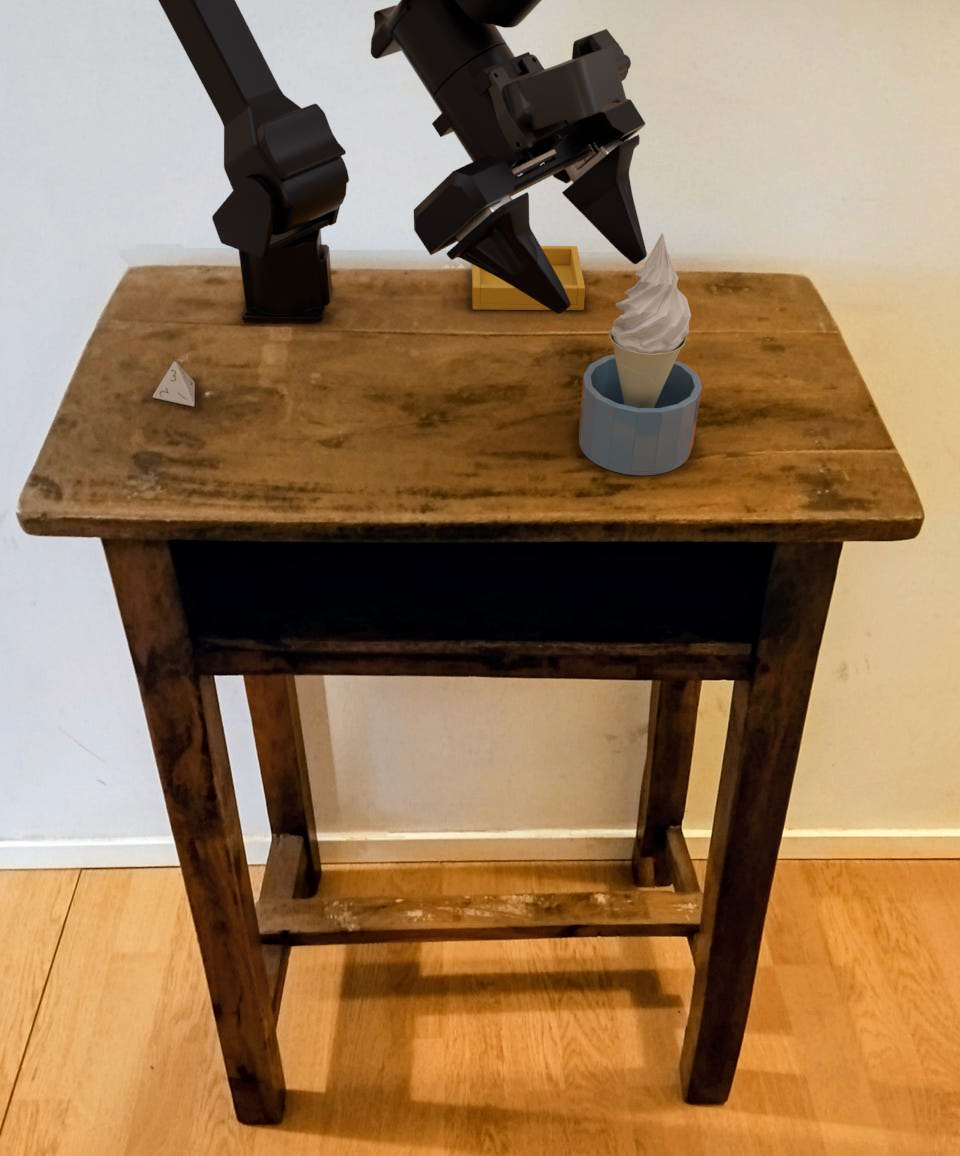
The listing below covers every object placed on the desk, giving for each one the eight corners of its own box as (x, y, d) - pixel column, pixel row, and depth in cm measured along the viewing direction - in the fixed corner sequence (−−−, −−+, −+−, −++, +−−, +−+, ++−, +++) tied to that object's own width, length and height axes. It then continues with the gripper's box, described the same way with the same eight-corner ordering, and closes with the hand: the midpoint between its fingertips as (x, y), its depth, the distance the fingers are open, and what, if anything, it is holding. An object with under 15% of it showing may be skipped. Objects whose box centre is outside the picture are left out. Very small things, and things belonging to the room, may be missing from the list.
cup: (583, 475, 77) (589, 411, 74) (574, 413, 83) (579, 351, 80) (699, 475, 77) (710, 412, 74) (682, 413, 83) (691, 352, 80)
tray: (472, 309, 95) (472, 287, 94) (471, 266, 102) (471, 245, 100) (583, 310, 96) (585, 288, 94) (575, 267, 102) (577, 245, 100)
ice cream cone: (675, 461, 78) (707, 251, 69) (601, 459, 78) (621, 249, 69) (668, 421, 82) (696, 217, 72) (596, 419, 82) (615, 215, 72)
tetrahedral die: (213, 400, 86) (215, 360, 85) (193, 407, 83) (195, 366, 82) (172, 391, 86) (174, 351, 85) (151, 398, 84) (152, 357, 83)
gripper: (449, 23, 61) (609, 275, 63) (633, -39, 72) (763, 176, 74) (348, 141, 70) (491, 359, 72) (526, 69, 81) (646, 259, 83)
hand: (604, 284), depth 75 cm, fingers open, 9 cm apart
